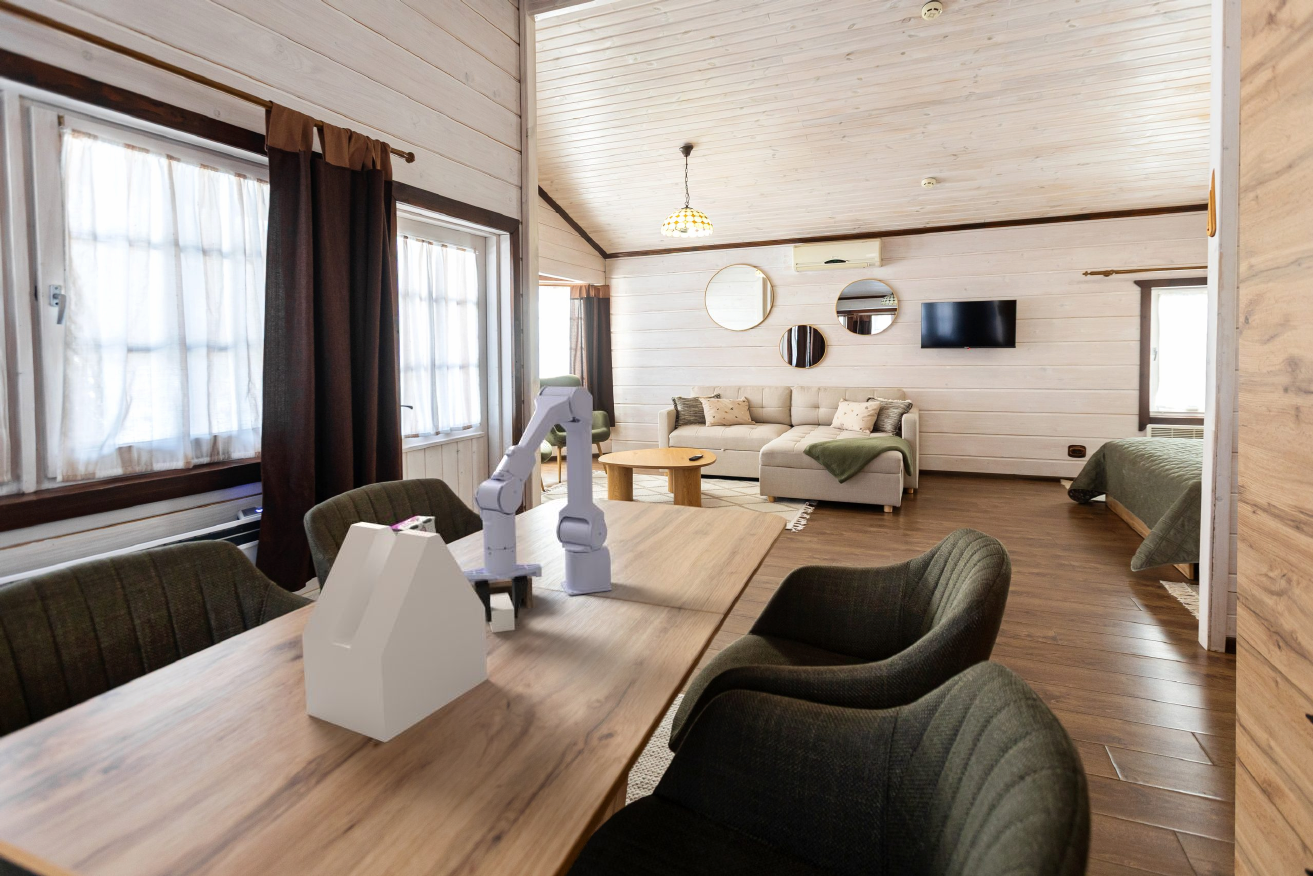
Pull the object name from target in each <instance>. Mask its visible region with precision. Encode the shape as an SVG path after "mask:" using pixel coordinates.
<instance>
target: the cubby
mask: <svg viewBox="0 0 1313 876" xmlns="http://www.w3.org/2000/svg"><path fill="white" fill-rule="evenodd" d="M463 572H465V571H463ZM527 579H528V587H527V589H526V591H525V593H524V595H523V597H522V599H523V600H524V601H523V602H525V605H526V608H527V609H528V608H530V607H531V608H533V607H534V605H533V604H534V603H533V602H534V601H533V599H534V597H533V595H534V594H533V577H527ZM488 582H489V587H490V589H491V590H490V595H491V594H499V593H508V595H509V597H512V581H511V579H506V580H497V581H488ZM470 584H471V586H472V587H473V589H474V591H475V592H476V594H477V595H478V597H479V599H480V600H481V598H480V596H479V594H478V592H477V591H476V588H475V584H474V583H470ZM481 601H482V600H481Z"/></svg>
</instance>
